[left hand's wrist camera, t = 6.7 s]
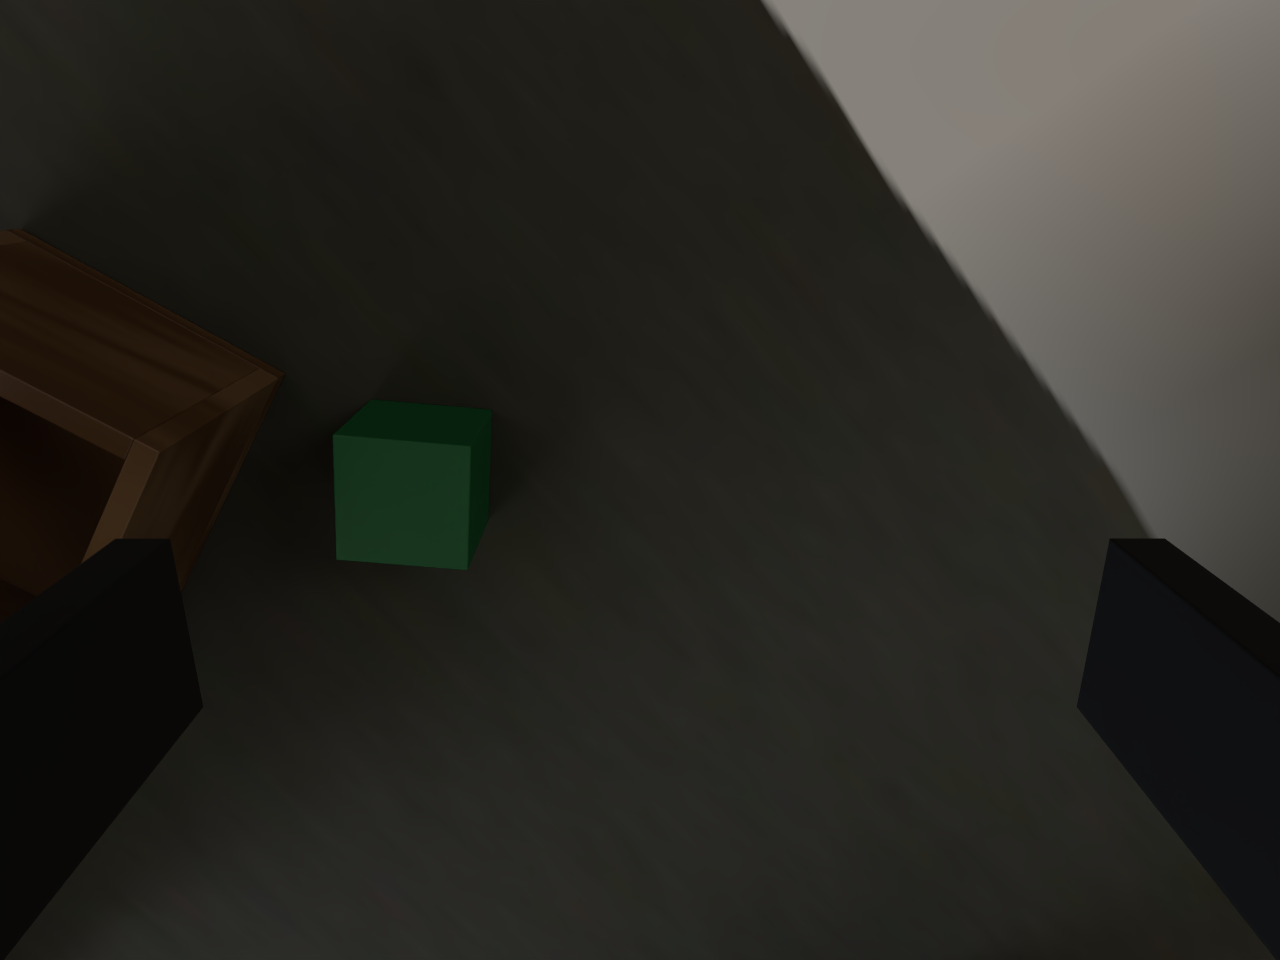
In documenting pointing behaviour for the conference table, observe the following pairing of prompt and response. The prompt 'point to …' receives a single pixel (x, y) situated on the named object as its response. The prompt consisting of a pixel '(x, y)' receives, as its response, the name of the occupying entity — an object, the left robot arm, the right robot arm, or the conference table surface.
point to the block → (412, 484)
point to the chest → (109, 419)
